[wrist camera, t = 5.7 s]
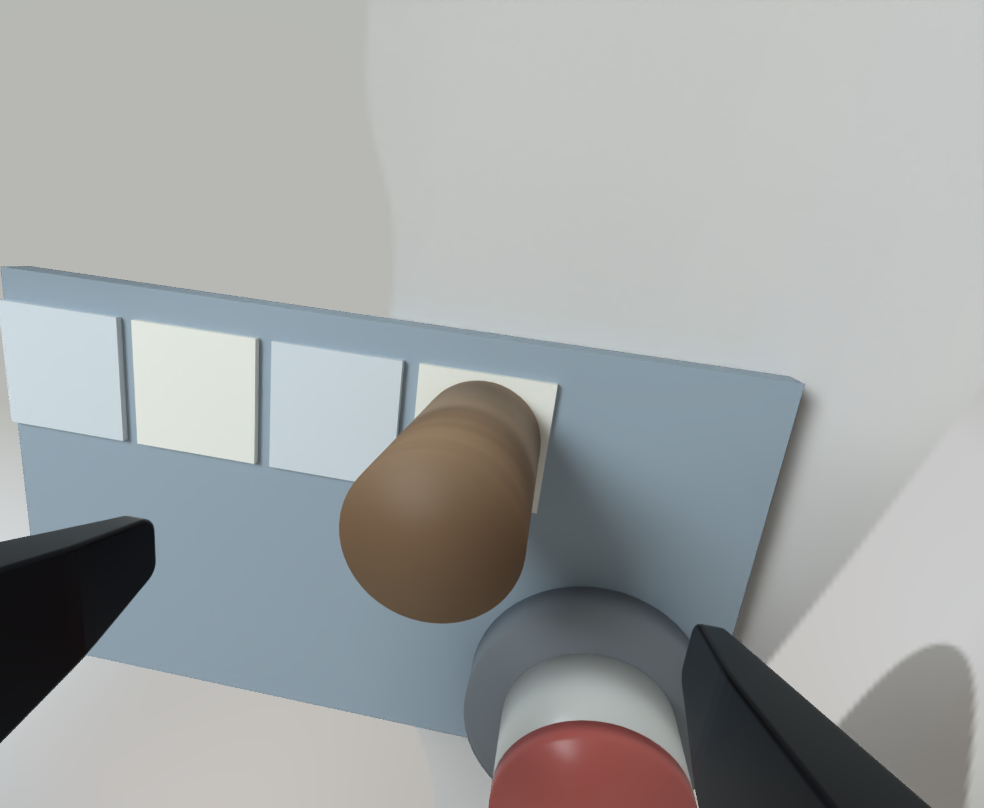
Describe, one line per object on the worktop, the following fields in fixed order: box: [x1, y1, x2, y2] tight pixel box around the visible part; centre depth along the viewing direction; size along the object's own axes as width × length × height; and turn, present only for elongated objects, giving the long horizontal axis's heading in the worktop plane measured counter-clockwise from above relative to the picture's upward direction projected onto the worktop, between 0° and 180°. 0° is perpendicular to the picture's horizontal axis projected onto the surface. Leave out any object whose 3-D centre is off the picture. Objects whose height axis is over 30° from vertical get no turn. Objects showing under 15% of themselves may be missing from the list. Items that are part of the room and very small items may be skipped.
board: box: [0, 266, 805, 790], centre depth 17 cm, size 15×24×2 cm, turn 83°
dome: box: [489, 653, 697, 808], centre depth 15 cm, size 5×5×3 cm
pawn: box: [339, 380, 541, 624], centre depth 13 cm, size 4×4×6 cm
